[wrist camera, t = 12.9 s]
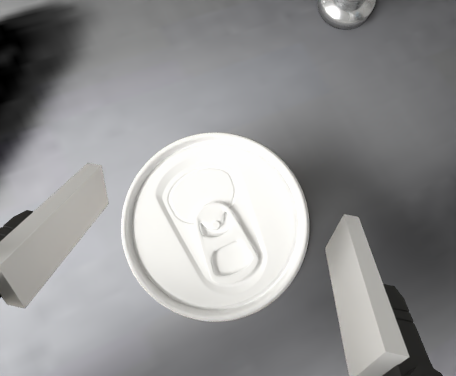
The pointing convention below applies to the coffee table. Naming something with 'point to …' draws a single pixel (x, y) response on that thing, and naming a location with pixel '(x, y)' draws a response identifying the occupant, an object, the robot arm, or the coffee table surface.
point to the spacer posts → (345, 12)
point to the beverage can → (215, 226)
